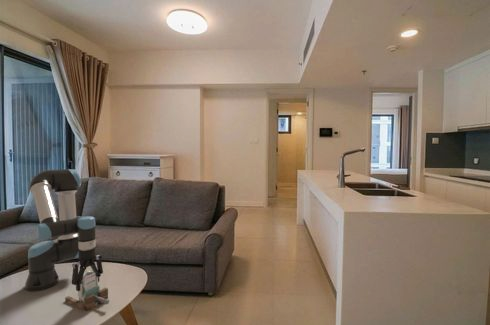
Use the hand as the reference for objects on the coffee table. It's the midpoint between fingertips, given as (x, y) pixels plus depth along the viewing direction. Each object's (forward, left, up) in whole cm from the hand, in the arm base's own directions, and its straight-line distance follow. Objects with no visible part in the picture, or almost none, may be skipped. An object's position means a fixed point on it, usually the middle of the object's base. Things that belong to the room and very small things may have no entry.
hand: (88, 292), depth 136 cm
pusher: (+9, 0, -4) cm, 10 cm away
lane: (-2, 0, -5) cm, 5 cm away
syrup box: (0, 0, -5) cm, 5 cm away
